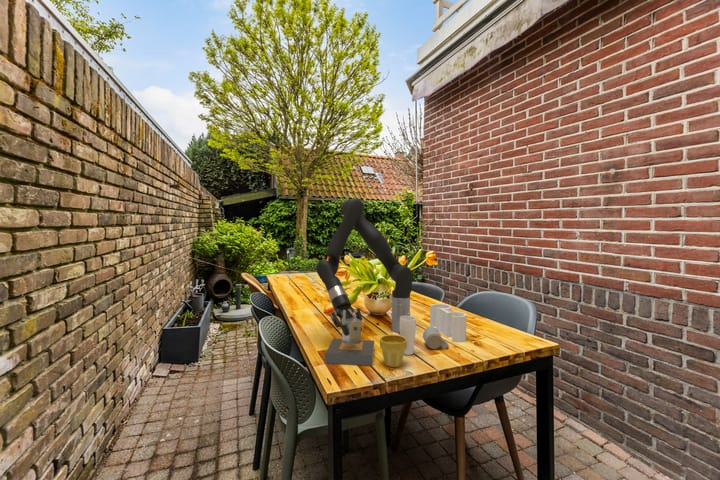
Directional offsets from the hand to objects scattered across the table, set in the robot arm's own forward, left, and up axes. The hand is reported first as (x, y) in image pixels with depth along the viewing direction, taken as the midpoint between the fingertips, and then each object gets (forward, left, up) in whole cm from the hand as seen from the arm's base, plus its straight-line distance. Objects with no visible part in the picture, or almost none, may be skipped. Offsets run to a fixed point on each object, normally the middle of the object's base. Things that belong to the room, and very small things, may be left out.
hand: (353, 333), depth 129 cm
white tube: (-22, -6, -10) cm, 25 cm away
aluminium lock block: (+1, -1, -4) cm, 5 cm away
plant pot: (-16, +5, -10) cm, 19 cm away
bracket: (-44, -34, -10) cm, 56 cm away
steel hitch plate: (+1, 0, -10) cm, 10 cm away
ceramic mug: (-35, -15, -10) cm, 39 cm away
